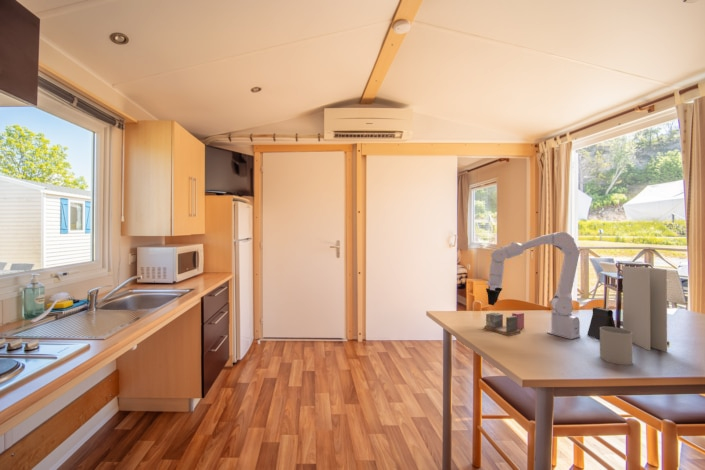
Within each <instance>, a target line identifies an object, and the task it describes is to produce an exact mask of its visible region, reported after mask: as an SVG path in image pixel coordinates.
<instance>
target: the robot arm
mask: <svg viewBox="0 0 705 470" xmlns="http://www.w3.org/2000/svg"><path fill="white" fill-rule="evenodd" d="M541 245H550V246H551V245H552V246H554V247H555V248H557V249H559V251H561V253H562V254H563V260H562V266H561V269H560V276H559V280H558V284H557V288H556V291H555V293H554V296H553V298H552V299H550V305H551V308H552V310H551V313H550V314H551V317H550V318H551V329H550V330H549V331H547V332H546V333H547V334H549V335H554V336H557V337H562V338H566V339H568V340H573V339H576V338H579V337H581V334H580V333H581V332H580V327H581V325H580V319H579V317H578V316H574V315H573V313H572V312H573V311H574V310H573V309H574V306H573V303H572V300H573V297H572V291H573V286H574V282H575V277H576V271H577V267H578V264H579V263H578V262H579V257H580V250H579V248H578V246H577V244H576V241H575V239H574V237H573V236H571V235H570V234H569V233H568V232H565V231H559V232H558V231H556V232H553V233H548V234H544V235H540V236H538V237H535V238H532V239H531V240H527V241H525V242H523V243H519V242H514V241H513V242H510V244H507V245H505V246H500V247H499V248H496V249H494V250H492V252H491V253H490V256H491V260H490V267H489V276H488V280H487V281H488V282H485V285H487V286H489V287H488V288H486V289H485V291H486V294H487V299H488V305H489V306H495V304H496V303H497V302H498V300H499V296H500V294H501V292H502V291H503V288H502V287H503V277H504V271H505V270H504V268H505V265H504V263H505V260H506V259H508V260H509V259H512V258H515V257H517V256H520V255H523V253H524V251H526V250H528V249H532V248H535V247H538V246H541Z"/></svg>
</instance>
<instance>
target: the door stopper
mask: <svg viewBox="0 0 705 470" xmlns="http://www.w3.org/2000/svg"><path fill="white" fill-rule="evenodd" d="M591 315H592V316H591V320H590V323H589V327H588V330H587V334H586V335H587V336H589V337H592V338H594V339H599V340H600V327H615V328H617V327H616V324H615V320H614V311H613V310H612V309H608V308H603V307H599V306H593V307H592V314H591Z"/></svg>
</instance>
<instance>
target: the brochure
mask: <svg viewBox="0 0 705 470" xmlns="http://www.w3.org/2000/svg"><path fill="white" fill-rule="evenodd" d="M667 273H668V271H667V269H661V268H653V267H647V266H640V265H639V266H638V265H637V266H628V265H627V266H625V265H623V266H622V329H625V330H628V331H631V332H632V344H634V345H637V346H639V347H641V348H643V349H645V350H647V351H651V348H654V349H655V350H660V351H663V352H666V353H667V352H668V294H667V293H668V287H667V286H668V283H667V282H668V280H667V279H668V277H667V276H668V274H667Z"/></svg>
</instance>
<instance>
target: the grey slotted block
mask: <svg viewBox="0 0 705 470" xmlns="http://www.w3.org/2000/svg"><path fill="white" fill-rule="evenodd" d="M485 316H486V317H485V325H483V326H484V327H483V328H484V329H485V330H488V331H491V332H495V333H498V334H502V335H505V336H509V337H510V336H515V335H517V334H521V330H522V329H519V330H518V329H517V316H507V317H506V318H505V320H506V321H505V325H504V322H503V319H504V317H503V316H504V315H503V313H499V312H489V313H485Z"/></svg>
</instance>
